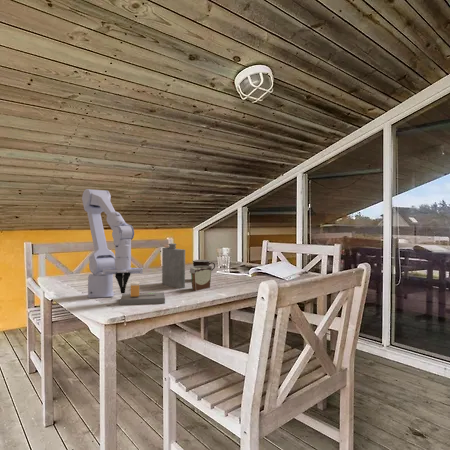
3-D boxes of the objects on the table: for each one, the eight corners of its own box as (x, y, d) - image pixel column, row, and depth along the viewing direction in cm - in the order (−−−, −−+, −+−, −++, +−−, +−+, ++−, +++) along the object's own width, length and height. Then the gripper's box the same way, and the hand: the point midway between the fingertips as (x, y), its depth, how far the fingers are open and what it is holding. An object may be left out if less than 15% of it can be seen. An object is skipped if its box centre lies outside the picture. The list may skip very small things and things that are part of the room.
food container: (202, 285, 166) (202, 264, 165) (212, 287, 162) (212, 266, 162) (183, 289, 156) (183, 267, 156) (193, 291, 152) (193, 268, 152)
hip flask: (186, 287, 161) (186, 244, 161) (179, 288, 158) (179, 244, 158) (166, 282, 173) (166, 242, 172) (159, 283, 170) (159, 242, 169)
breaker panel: (120, 305, 128) (120, 299, 128) (122, 298, 138) (122, 293, 138) (164, 303, 131) (164, 297, 131) (163, 297, 141) (163, 292, 141)
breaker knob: (130, 296, 131) (130, 283, 131) (131, 293, 136) (131, 281, 136) (138, 296, 132) (139, 283, 131) (139, 293, 136) (139, 281, 136)
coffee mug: (192, 281, 177) (192, 261, 177) (193, 278, 186) (193, 259, 186) (215, 281, 178) (215, 261, 177) (215, 278, 186) (215, 259, 186)
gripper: (101, 258, 127) (101, 295, 127) (142, 258, 130) (142, 294, 130) (104, 256, 134) (103, 291, 134) (142, 256, 137) (142, 290, 137)
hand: (122, 292), depth 133 cm, fingers closed
